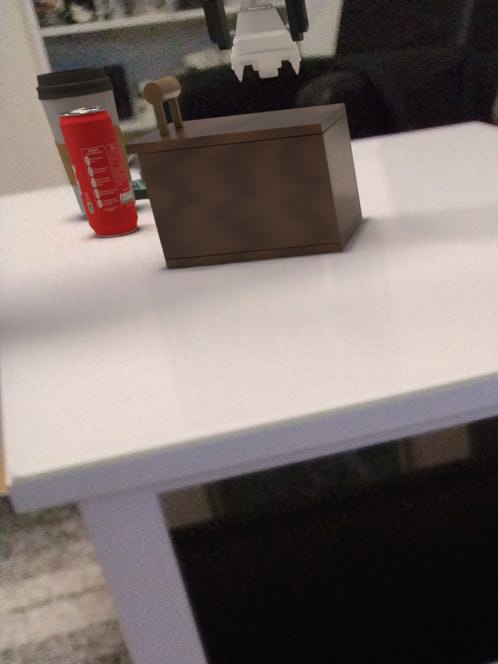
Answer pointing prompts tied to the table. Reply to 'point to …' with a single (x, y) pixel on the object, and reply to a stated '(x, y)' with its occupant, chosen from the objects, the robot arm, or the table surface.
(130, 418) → the table surface
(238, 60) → the toy car
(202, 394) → the table surface
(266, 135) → the lid
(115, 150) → the beverage can
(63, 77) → the coffee cup
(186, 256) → the chest
